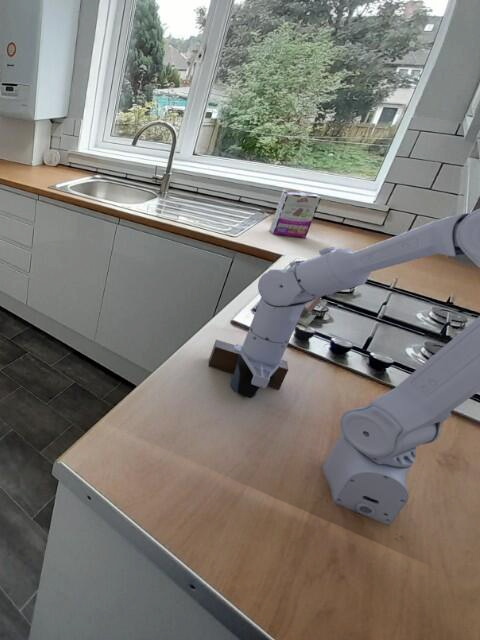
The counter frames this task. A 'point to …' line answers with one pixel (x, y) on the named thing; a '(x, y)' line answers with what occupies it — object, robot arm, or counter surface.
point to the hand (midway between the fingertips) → (244, 394)
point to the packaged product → (305, 316)
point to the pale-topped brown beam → (227, 360)
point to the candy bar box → (295, 214)
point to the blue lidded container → (236, 380)
